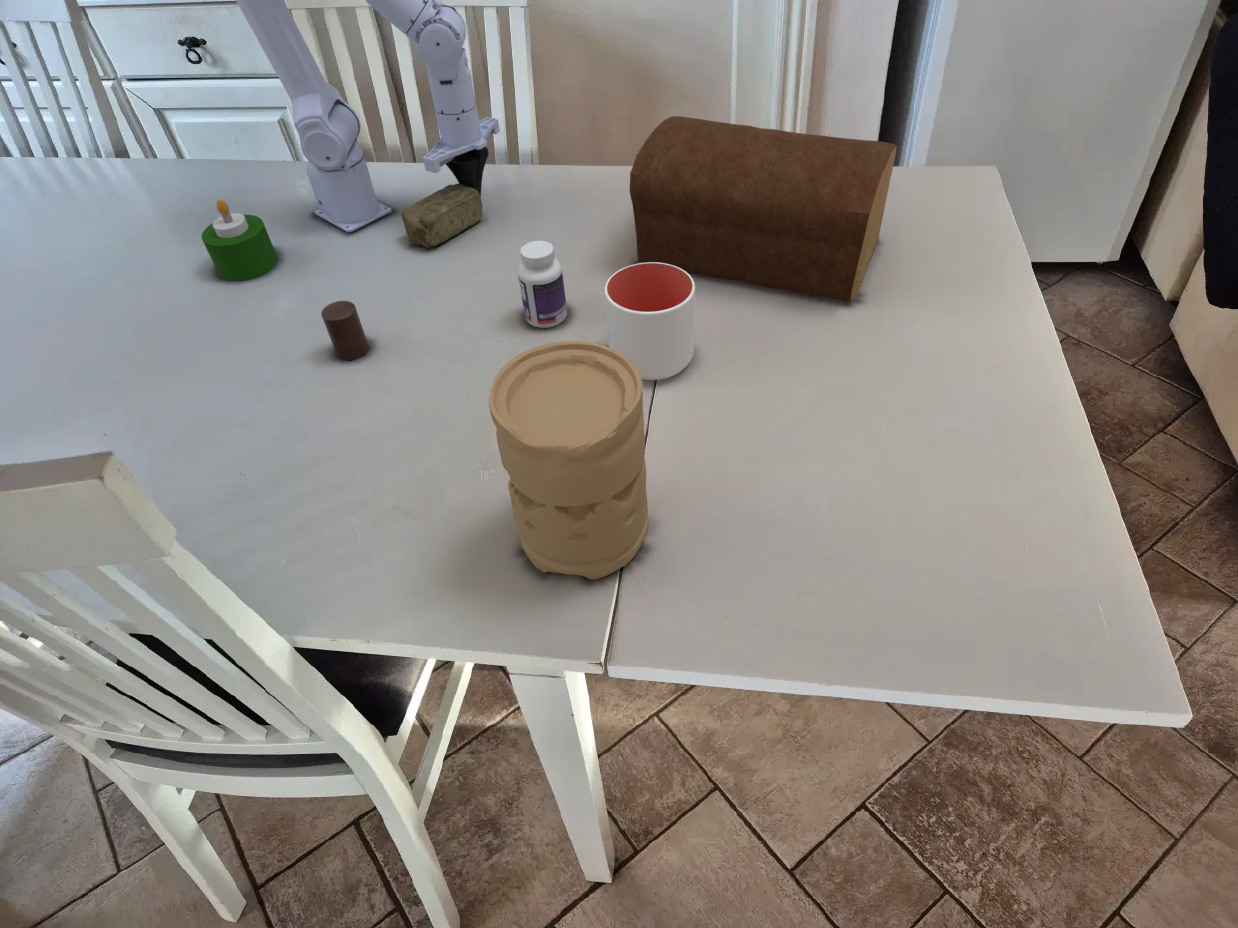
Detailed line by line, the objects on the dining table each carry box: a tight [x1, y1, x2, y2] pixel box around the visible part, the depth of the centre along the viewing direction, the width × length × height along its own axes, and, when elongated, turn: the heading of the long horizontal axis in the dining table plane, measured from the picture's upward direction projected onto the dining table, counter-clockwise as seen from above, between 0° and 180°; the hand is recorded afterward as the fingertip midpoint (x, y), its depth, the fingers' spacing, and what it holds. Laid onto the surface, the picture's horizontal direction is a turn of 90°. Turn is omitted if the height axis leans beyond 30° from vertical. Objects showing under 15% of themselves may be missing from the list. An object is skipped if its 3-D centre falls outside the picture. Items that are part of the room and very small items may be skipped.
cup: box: [603, 262, 696, 381], centre depth 93 cm, size 10×10×10 cm
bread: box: [629, 115, 897, 302], centre depth 105 cm, size 18×30×16 cm, turn 67°
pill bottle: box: [517, 240, 568, 329], centre depth 100 cm, size 5×5×10 cm
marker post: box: [320, 300, 370, 361], centre depth 98 cm, size 4×4×6 cm
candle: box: [201, 198, 278, 282], centre depth 112 cm, size 8×8×10 cm
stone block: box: [401, 182, 483, 249], centre depth 118 cm, size 6×12×5 cm, turn 141°
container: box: [488, 340, 649, 581], centre depth 72 cm, size 13×13×18 cm
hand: (473, 197), depth 122 cm, fingers closed
